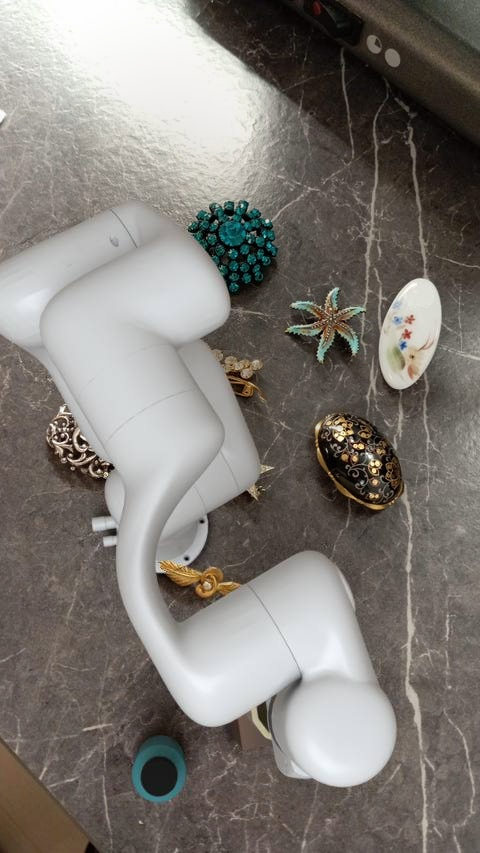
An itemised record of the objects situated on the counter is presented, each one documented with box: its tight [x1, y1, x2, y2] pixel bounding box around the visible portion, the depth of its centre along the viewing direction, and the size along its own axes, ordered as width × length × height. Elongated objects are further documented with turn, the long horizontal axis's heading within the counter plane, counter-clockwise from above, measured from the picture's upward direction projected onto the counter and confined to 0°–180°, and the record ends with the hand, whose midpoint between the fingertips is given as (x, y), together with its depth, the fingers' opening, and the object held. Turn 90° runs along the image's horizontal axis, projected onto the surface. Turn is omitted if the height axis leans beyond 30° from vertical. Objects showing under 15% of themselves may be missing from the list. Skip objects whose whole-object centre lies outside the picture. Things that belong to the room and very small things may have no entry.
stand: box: [229, 714, 273, 751], centre depth 110 cm, size 9×9×21 cm
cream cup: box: [245, 701, 272, 740], centre depth 95 cm, size 7×7×10 cm
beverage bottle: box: [131, 734, 188, 803], centre depth 108 cm, size 6×7×20 cm
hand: (288, 705), depth 88 cm, fingers closed
